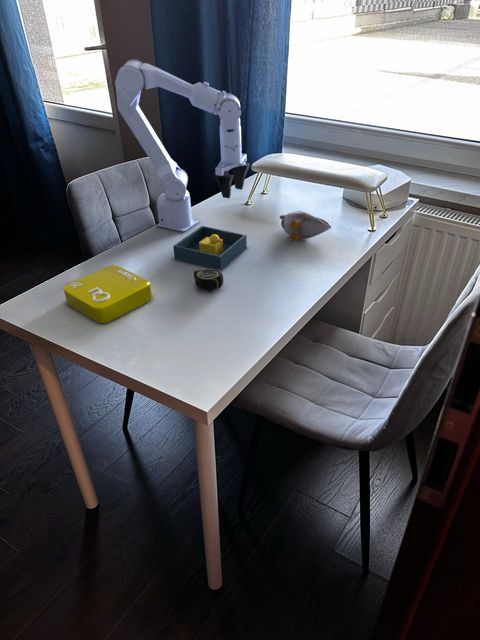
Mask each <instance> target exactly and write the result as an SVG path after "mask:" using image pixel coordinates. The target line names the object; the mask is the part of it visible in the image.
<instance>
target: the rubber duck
mask: <svg viewBox="0 0 480 640" xmlns="http://www.w3.org/2000/svg"><path fill="white" fill-rule="evenodd" d="M199 249H200V251H202V252H206V253H210V254H215V255H219V254H220V253H222V252H223V239H219V236H218V235H216V234H213V235H211V236H210V238H209V237H206V238H205V239H203V240H202V241H201V242H199Z"/></svg>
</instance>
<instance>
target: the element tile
mask: <svg viewBox="0 0 480 640" xmlns="http://www.w3.org/2000/svg"><path fill="white" fill-rule="evenodd" d="M62 290H63V293H64V297H65V300H66V303H67V305H68V306H70V307H71V308H73V309H75V310H76V311H78V312H80V313H81V314H82V315H84V316H86V317H88V318H89V319H90V320H92V321H94V322H95V323H98V324H108V323H110V322H113V321H114V320H116V319H118V318H120V317H122V316H124V315H127V314H128V313H130V312H131V311H134V310H135V309H137V308H140V307H141V306H143V305H144V304H147V303H148V302H150V301H151V300H152V298H153V294H152V288H151V283H150V281H149V280H148V279H145V278H144V277H142V276H140V275H138V274H136V273H133V272H131V271H129V270H127V269H125V268H124V267H121V266H119V265H116V264H110V265H107V266H105V267H103V268H100V269H98V270H96V271H93V272H91V273H89V274H87V275H85V276H83V277H79V278H78V279H76V280H74V281H71V282H69V283H67V284H65V285H64V286H63V288H62Z"/></svg>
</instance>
